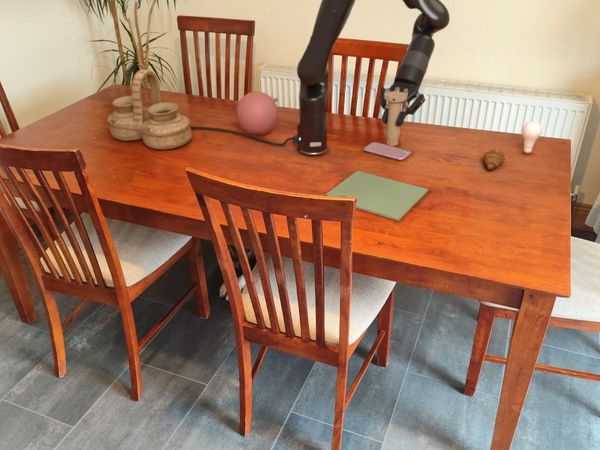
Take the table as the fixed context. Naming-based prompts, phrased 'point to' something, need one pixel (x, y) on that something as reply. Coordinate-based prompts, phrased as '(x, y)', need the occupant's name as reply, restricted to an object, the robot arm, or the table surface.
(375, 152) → the mobile phone
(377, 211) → the mat
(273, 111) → the balloon
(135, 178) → the table surface
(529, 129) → the lightbulb
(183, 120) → the ceramic vessel
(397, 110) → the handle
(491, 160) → the croissant
